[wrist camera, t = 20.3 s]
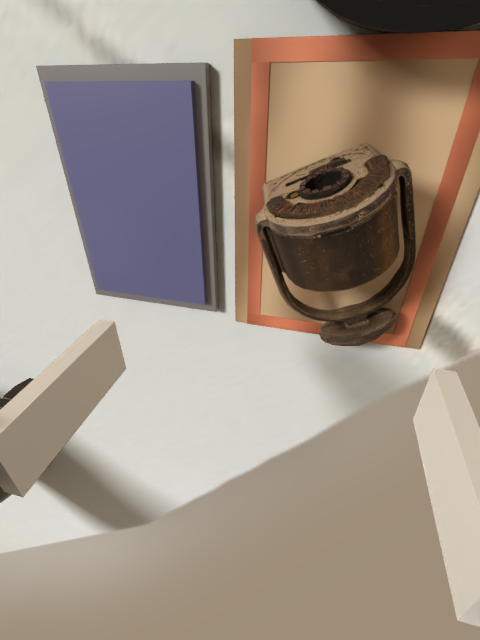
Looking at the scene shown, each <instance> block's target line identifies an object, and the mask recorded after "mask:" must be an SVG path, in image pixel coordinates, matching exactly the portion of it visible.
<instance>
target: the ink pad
mask: <svg viewBox="0 0 480 640" xmlns="http://www.w3.org/2000/svg"><path fill="white" fill-rule="evenodd" d="M36 68H37V71H38V75H39V79H40V83H41V86H42V90H43V94H44V98H45V101H46V105H47V109H48V113H49V117H50V120H51V124H52V128H53V132H54V135H55V139H56V143H57V147H58V151H59V154H60V158H61V162H62V166H63V169H64V173H65V177H66V181H67V184H68V188H69V192H70V196H71V200H72V203H73V207H74V211H75V215H76V218H77V222H78V226H79V230H80V233H81V237H82V241H83V245H84V249H85V252H86V256H87V260H88V264H89V267H90V271H91V275H92V279H93V283H94V286H95V290H96V294H100V295H107V296H114V297H121V298H127V299H134V300H141V301H148V302H154V303H161V304H168V305H175V306H182V307H188V308H195V309H202V310H209V311H215V312H216V311H217V309H218V307H219V304H218V278H217V252H216V226H215V200H214V174H213V148H212V122H211V96H210V70H209V63H161V64H109V65H57V66H36Z"/></svg>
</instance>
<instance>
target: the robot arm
mask: <svg viewBox="0 0 480 640" xmlns="http://www.w3.org/2000/svg"><path fill="white" fill-rule="evenodd" d="M125 369H126V366H125V362H124V358H123V354H122V350H121V346H120V342H119V338H118V334H117V329H116V325H115V322H113V321H106V320H98V321H97V322H96V323H95V324H94V325H93V326H92V327H91V328H90V329H89V330H87V331H86V332H85V333H84V334H83V335H82V336H81V337H80V338H79V339H78V340H76V341H75V342H74V343H73V344H72V345H71V346H70V347H69V348H68V349H67V350H65V351H64V352H63V353H62V354H61V355H60V356H59V357H58V358H57V359H56V360H54V361H53V362H52V363H51V364H50V365H49V366H48V367H47V368H46V369H45V370H43V371H42V372H41V373H40V374H39V375H38V376H37V377H36V378H35V379H31V378H29V379H27V380H25V381H24V382H22V383H20V384H18V385H16V386H15V387H13V388H12V389H11V390H10V391H9V392H8V393H7V394H6V395H4V396H3V399H0V503H1V502H2V501H4V500H5V499H6V498H8V497H9V496H10V495H12V494H14V495H17V496H21V497H24V496H25V494H26V493H27V492H28V491H29V489H30V488H31V487H32V486H33V484H34V483H35V482H36V481H37V479H38V478H39V477H40V476H41V474H42V473H43V472H44V471H45V469H46V468H47V467H48V466H49V464H50V463H51V462H52V461H53V459H54V458H55V457H56V456H57V454H58V453H59V452H60V451H61V449H62V448H63V447H64V446H65V444H66V443H67V442H68V441H69V439H70V438H71V437H72V436H73V434H74V433H75V432H76V431H77V429H78V428H79V427H80V426H81V424H82V423H83V422H84V421H85V419H86V418H87V417H88V416H89V414H90V413H91V412H92V411H93V409H94V408H95V407H96V406H97V404H98V403H99V402H100V401H101V399H102V398H103V397H104V396H105V394H106V393H107V392H108V391H109V389H110V388H111V387H112V386H113V384H114V383H115V382H116V381H117V379H118V378H119V377H120V376H121V374H122V373H123V372H124V371H125ZM413 422H414V427H415V431H416V436H417V440H418V445H419V449H420V454H421V458H422V463H423V467H424V472H425V476H426V481H427V486H428V490H429V494H430V499H431V504H432V508H433V513H434V517H435V521H436V526H437V531H438V535H439V539H440V544H441V549H442V553H443V558H444V562H445V567H446V571H447V576H448V581H449V585H450V590H451V594H452V599H453V603H454V608H455V612H456V616H457V620H458V621H461V622H465V623H468V624H471V625H475V626H478V627H480V427H479V425H478V423H477V420H476V418H475V415H474V413H473V411H472V408H471V406H470V404H469V401H468V399H467V396H466V394H465V391H464V389H463V387H462V384H461V382H460V379H459V377H458V375H457V372H455V371H448V370H441V369H434V368H433V370H432V373H431V375H430V378H429V380H428V383H427V385H426V388H425V390H424V393H423V395H422V398H421V400H420V403H419V405H418V408H417V410H416V413H415V415H414V418H413Z"/></svg>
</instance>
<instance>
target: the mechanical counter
mask: <svg viewBox="0 0 480 640" xmlns="http://www.w3.org/2000/svg"><path fill="white" fill-rule="evenodd" d="M398 178H399V184H400V190H399V188H398V187H397V179H398ZM262 191H263V201H264V207H263V209H262V210H261V211H260V212H259V213H258V214H257V215H256V218H255V221H254V228H255V231H256V234H257V236H258V239H259V241H260V244H261V247H262V249H263V252H264V254H265V257H266V259H267V262H268V264H269V267H270V270H271V272H272V275H273V277H274V280H275V282H276V285H277V287H278V290H279V292H280V294H281V296H282V297H283V299H284V301H285V302H286V304H287V305H288V306H290V307H291V308H292V309H293V310H295V311H296V312H298V313H300V314H301V315H303V316H305V317H307V318H310V319H313V320H317V321H324V322H326V323H324V324H323V325H322V326H321V327H320V328H319V334H320V337H321V339H322V340H323V341H324V342H326V343H329V344H332V345H339V346H359V345H362V344H365V343H368V342H371V341H373V340H376V339H377V338H379V337H380V336H381V335H382V334H384V333H385V332H386V331H388V330H389V329H390V328H391V327H392V326H393V324H394V323H395V322H396V319H397V315H396V312H395V311H393V310H390V309H388V308H382V306H384V305H385V304H387V303H388V302H390V301H391V300H392V298H393V297H394V296H395V295H396V294H397V293H398V292H399V291H400V290H401V288H402V287H403V286H404V285H405V283H406V281H407V280H408V278H409V276H410V274H411V272H412V271H413V268H414V264H415V259H416V232H415V212H414V196H413V184H412V173H411V170H410V168H409V166H408V164H407V163H405V162H403V161H401V160H394V159H392V160H388V158H387V156H386V155H380V154H379V153H378V152H377V151H376V150H375V149H374V148H373V147H372V146H371V145H369V144H368V143H363V144H360V145H357V146H355V147H352V148H350V149H347V150H345V151H342V152H339V153H337V154H334V155H331V156H328V157H326V158H323V159H320V160H318V161H315V162H313V163H310V164H308V165H306V166H303V167H301V168H298V169H296V170H294V171H291V172H289V173H287V174H284V175H282V176H280V177H277V178H275V179H273V180H270V181H268V182H266V183H264V185H263V187H262ZM399 193H400V206H401V220H402V230H403V239H404V259H403V261H402V264H401V266H400V268H399V269H398V270H397V272H396V273H395V275H394V276H393V277H392V279H391V280H390V282H389V283H388V284H387V285H386V286H385V287H384V288H383V289H382V290H381V291H379V292H378V293H377V294H375V295H374V296H372V297H371V298H370V299H368V300H366V301H364V302H362V303H359V304H353V305H349V306H345V307H342V308H339V309H333V310H323V309H317V308H313V307H310V306H308V305H306V304H304V303H302V302H301V301H299V300H298V299H296V298H295V297H294V296H293V295H292V294H291V292H290V291H289V289H288V287H287V284H286V282H285V280H284V277H283V274H282V272H284V273H285V274H286V275H287V277H288V278H289V280H291V281H292V282H293V283H294V284H295V285H297V286H299V287H301V288H303V289H306V290H310V291H315V292H339V291H344V290H349V289H353V288H355V287H358V286H361V285H363V284H365V283H368V282H370V281H372V280H375V279H376V278H377V277H379V276H380V275H381V274H383V273H384V272H385V271H387V270H388V269H389V268H390V266H391V265H392V264H393V263H394V262H395V260H396V258H397V256H398V253H399V249H400V243H399V229H398V213H397V197H396V196H397V195H399Z"/></svg>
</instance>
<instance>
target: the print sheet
mask: <svg viewBox="0 0 480 640" xmlns="http://www.w3.org/2000/svg"><path fill="white" fill-rule="evenodd" d="M363 143H368V144H369V145H371V146H372V147H373V148H374V149H375V150H376V151H377V152H378V153H379V154H380V155H386V156H387V158H388V160H392V159H394V160H401V161H403V162H405V163H407V164H408V166H409V168H410V170H411V173H412V184H413V196H414V212H415V232H416V259H415V264H414V268H413V271H412V272H411V274H410V276H409V278H408V280H407V281H406V283H405V285H404V286H403V287H402V288H401V290H400V291H399V292H398V293H397V294H396V295H395V296H394V297H393V298H392V300H391V301H390V302H388V303H387V304H385V305H384V306H382V308H388V309H390V310H393V311H395V312H396V315H397V319H396V322H395V323H394V324H393V326H392V327H391V328H390V329H389V330H388V331H386V332H385V333H384V334H382V335H381V336H380V337H379V338H377V339H376V340H373V341H371V342H372V343H379V344H385V345H392V346H398V347H408V348H414V349H419V348H420V345H421V343H422V340H423V337H424V335H425V332H426V329H427V327H428V324H429V321H430V319H431V316H432V313H433V311H434V308H435V305H436V303H437V300H438V297H439V294H440V292H441V289H442V286H443V284H444V281H445V278H446V276H447V273H448V270H449V268H450V265H451V262H452V260H453V257H454V254H455V252H456V249H457V246H458V244H459V241H460V238H461V236H462V233H463V230H464V228H465V225H466V222H467V220H468V217H469V214H470V212H471V209H472V206H473V204H474V201H475V198H476V196H477V193H478V190H479V188H480V31H454V32H427V33H411V34H409V33H396V34H367V35H338V36H309V37H280V38H252V39H234V144H235V305H236V321H237V322H244V323H247V324H254V325H260V326H267V327H274V328H280V329H287V330H293V331H300V332H306V333H313V334H319V328H320V327H321V326H322V325H323V324H324V323H326V322H324V321H317V320H313V319H310V318H307V317H305V316H303V315H301V314H300V313H298V312H296V311H295V310H293V309H292V308H291V307H290V306H288V305H287V304H286V302H285V301H284V299H283V297H282V296H281V294H280V292H279V290H278V287H277V285H276V282H275V280H274V277H273V275H272V272H271V270H270V267H269V264H268V262H267V259H266V257H265V254H264V252H263V249H262V247H261V244H260V241H259V239H258V236H257V234H256V231H255V228H254V221H255V218H256V215H257V214H258V213H259V212H260V211H261V210H262V209H263V207H264V201H263V191H262V187H263V185H264V183H266V182H268V181H270V180H273V179H275V178H277V177H280V176H282V175H284V174H287V173H289V172H291V171H294V170H296V169H298V168H301V167H303V166H306V165H308V164H310V163H313V162H315V161H318V160H320V159H323V158H326V157H328V156H331V155H334V154H337V153H339V152H342V151H345V150H347V149H350V148H352V147H355V146H357V145H360V144H363ZM397 187H398V188H399V190H400V184H399V178H398V179H397ZM396 197H397V213H398V229H399V243H400V249H399V253H398V256H397V258H396V260H395V262H394V263H393V264H392V265H391V266H390V268H389V269H388V270H387V271H385V272H384V273H383V274H381V275H380V276H379V277H377V278H376V279H375V280H372V281H370V282H368V283H365V284H363V285H361V286H358V287H355V288H353V289H349V290H344V291H339V292H315V291H310V290H306V289H303V288H301V287H299V286H297V285H295V284H294V283H293V282H292V281H291V280H289V278H288V277H287V275H286V274H285V273H284V272H282V274H283V277H284V280H285V282H286V284H287V287H288V289H289V291H290V292H291V294H292V295H293V296H294V297H295V298H296V299H298V300H299V301H301V302H302V303H304V304H306V305H308V306H310V307H313V308H317V309H323V310H333V309H339V308H342V307H345V306H349V305H353V304H359V303H362V302H364V301H366V300H368V299H370V298H371V297H372V296H374V295H375V294H377V293H378V292H379V291H381V290H382V289H383V288H384V287H385V286H386V285H387V284H388V283H389V282H390V280H391V279H392V277H393V276H394V275H395V273H396V272H397V270H398V269H399V268H400V266H401V264H402V261H403V259H404V239H403V230H402V220H401V206H400V193H399V195H397V196H396ZM319 335H320V334H319Z"/></svg>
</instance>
